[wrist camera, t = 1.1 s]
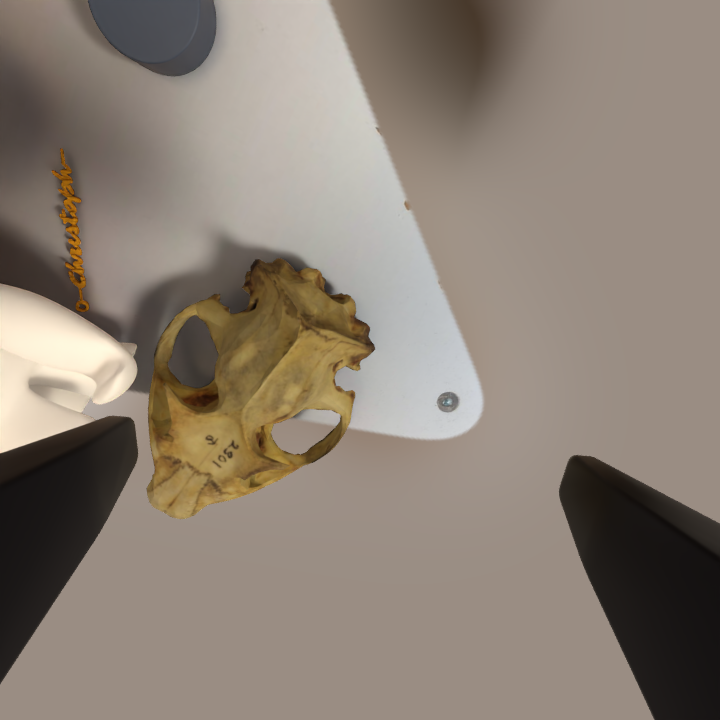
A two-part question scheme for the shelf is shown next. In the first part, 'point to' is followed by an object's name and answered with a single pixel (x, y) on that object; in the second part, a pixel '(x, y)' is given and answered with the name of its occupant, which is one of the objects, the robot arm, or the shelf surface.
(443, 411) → the shelf surface
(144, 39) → the short blue cylinder
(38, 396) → the toy animal
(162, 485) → the animal skull
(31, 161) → the shelf surface
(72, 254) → the keychain
